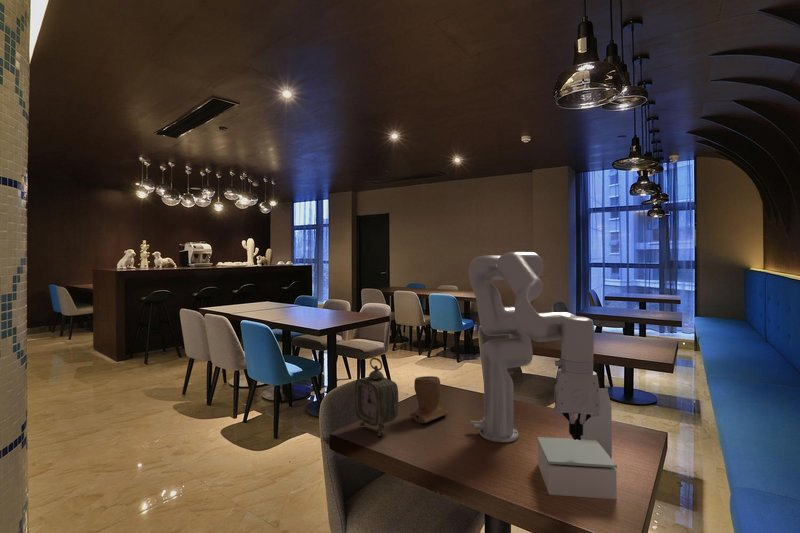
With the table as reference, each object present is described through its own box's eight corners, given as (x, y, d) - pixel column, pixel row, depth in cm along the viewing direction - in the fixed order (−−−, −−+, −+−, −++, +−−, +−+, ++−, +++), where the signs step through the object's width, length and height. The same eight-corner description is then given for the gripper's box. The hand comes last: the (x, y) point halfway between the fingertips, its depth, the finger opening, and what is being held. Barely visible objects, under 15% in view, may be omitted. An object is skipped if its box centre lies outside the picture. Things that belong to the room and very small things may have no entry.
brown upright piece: (428, 408, 164) (428, 370, 164) (452, 416, 156) (452, 376, 156) (401, 418, 153) (401, 378, 153) (425, 427, 145) (425, 384, 145)
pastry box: (549, 494, 102) (548, 466, 102) (537, 464, 118) (537, 439, 118) (616, 499, 100) (616, 470, 100) (596, 467, 115) (596, 442, 115)
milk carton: (612, 457, 122) (611, 392, 122) (586, 455, 123) (585, 391, 123) (605, 446, 129) (604, 385, 129) (580, 444, 130) (580, 384, 130)
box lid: (548, 463, 102) (548, 461, 102) (537, 439, 118) (537, 437, 118) (617, 467, 100) (616, 465, 100) (596, 442, 115) (596, 440, 115)
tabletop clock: (355, 426, 146) (354, 356, 146) (376, 420, 152) (375, 352, 152) (379, 440, 135) (378, 363, 135) (400, 433, 140) (400, 359, 140)
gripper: (549, 368, 102) (548, 442, 103) (613, 371, 100) (612, 446, 101) (543, 361, 110) (542, 429, 110) (603, 363, 107) (602, 433, 108)
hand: (575, 437), depth 105 cm, fingers closed
